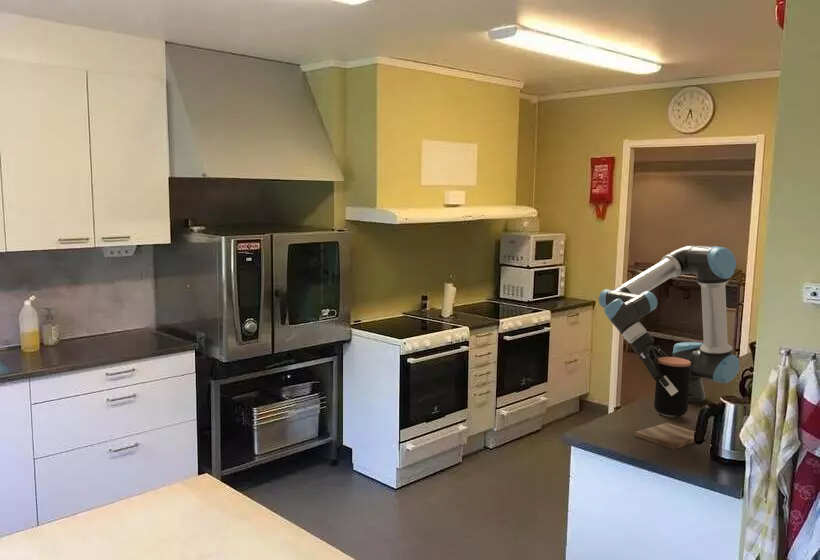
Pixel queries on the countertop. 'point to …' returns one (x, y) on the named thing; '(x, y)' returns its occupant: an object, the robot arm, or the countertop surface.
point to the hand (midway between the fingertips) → (680, 390)
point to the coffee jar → (680, 378)
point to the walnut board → (667, 435)
